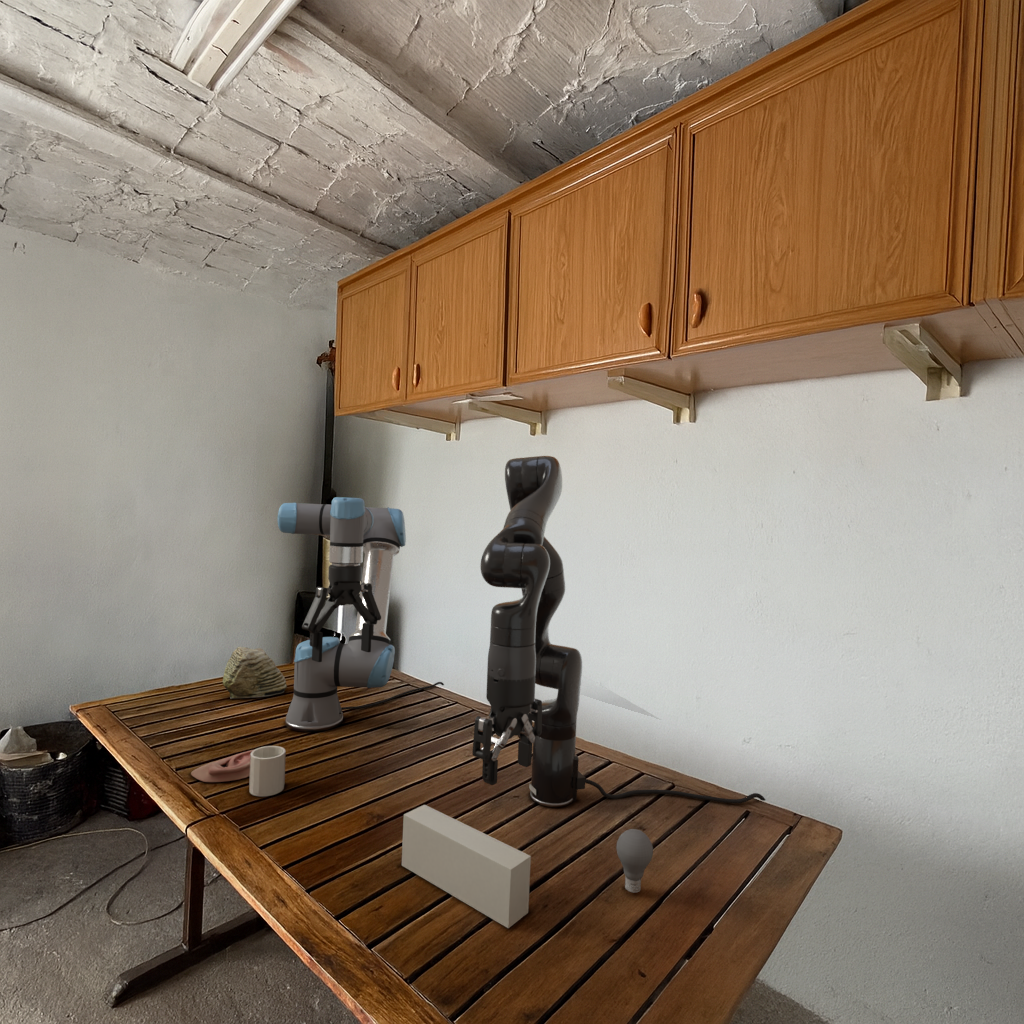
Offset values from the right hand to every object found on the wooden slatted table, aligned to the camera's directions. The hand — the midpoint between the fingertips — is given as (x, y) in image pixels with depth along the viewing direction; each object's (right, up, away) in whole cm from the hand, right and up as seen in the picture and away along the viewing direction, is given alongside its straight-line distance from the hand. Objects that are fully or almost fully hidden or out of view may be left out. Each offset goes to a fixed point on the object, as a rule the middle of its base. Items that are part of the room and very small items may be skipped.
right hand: (507, 773), depth 99 cm
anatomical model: (-64, -18, +44) cm, 80 cm away
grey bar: (-8, -21, +6) cm, 23 cm away
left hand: (-39, +8, +48) cm, 62 cm away
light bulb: (+21, -23, +7) cm, 31 cm away
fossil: (-80, -16, +99) cm, 129 cm away
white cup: (-52, -19, +37) cm, 67 cm away
